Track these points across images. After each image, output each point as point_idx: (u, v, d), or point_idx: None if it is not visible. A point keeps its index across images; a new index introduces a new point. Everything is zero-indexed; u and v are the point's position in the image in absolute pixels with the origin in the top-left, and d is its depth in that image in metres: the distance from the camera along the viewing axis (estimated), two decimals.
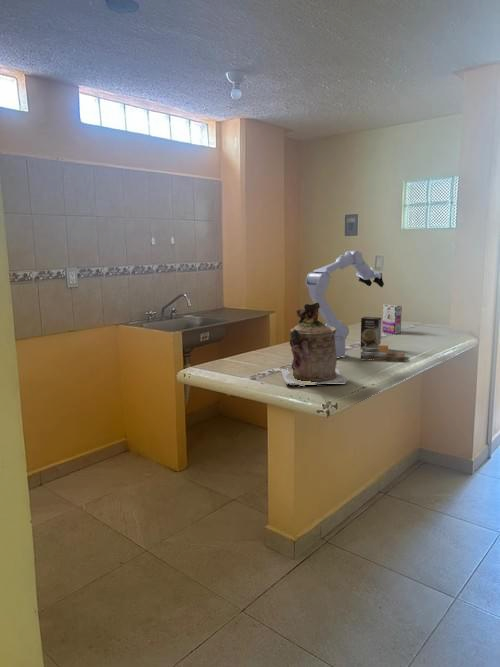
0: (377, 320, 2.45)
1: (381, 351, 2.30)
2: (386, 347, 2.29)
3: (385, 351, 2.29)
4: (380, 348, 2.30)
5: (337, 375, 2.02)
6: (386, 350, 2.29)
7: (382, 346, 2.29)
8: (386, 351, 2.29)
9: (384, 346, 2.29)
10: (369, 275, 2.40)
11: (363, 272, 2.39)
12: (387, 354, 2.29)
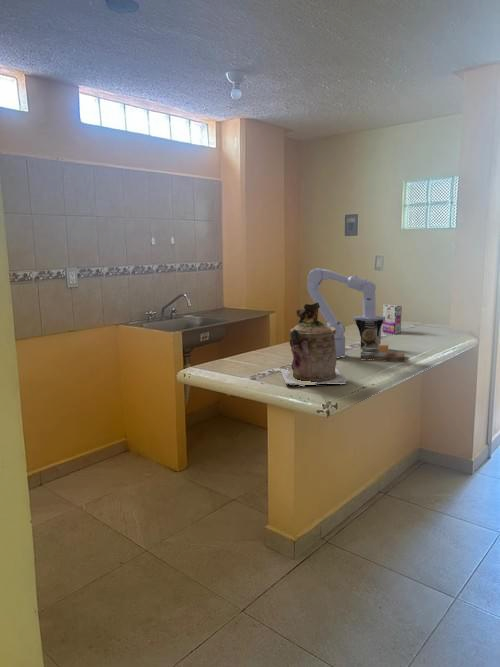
0: None
1: (381, 351, 2.30)
2: (386, 347, 2.29)
3: (385, 351, 2.29)
4: (380, 348, 2.30)
5: (337, 375, 2.02)
6: (386, 350, 2.29)
7: (382, 346, 2.29)
8: (386, 351, 2.29)
9: (384, 346, 2.29)
10: None
11: None
12: (387, 354, 2.29)
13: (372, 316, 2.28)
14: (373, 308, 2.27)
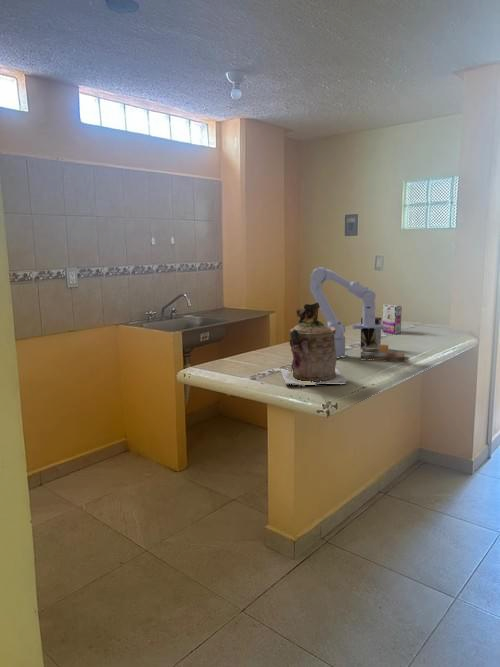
0: (377, 320, 2.45)
1: (381, 351, 2.30)
2: (386, 347, 2.29)
3: (385, 351, 2.29)
4: (380, 348, 2.30)
5: (337, 375, 2.02)
6: (386, 350, 2.29)
7: (382, 346, 2.29)
8: (386, 351, 2.29)
9: (384, 346, 2.29)
10: None
11: None
12: (387, 354, 2.29)
13: (371, 324, 2.29)
14: (372, 316, 2.28)
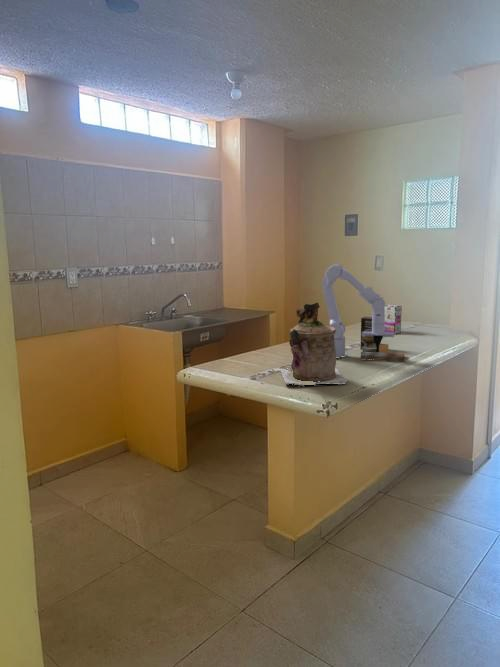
0: None
1: (381, 351, 2.30)
2: (386, 347, 2.29)
3: (385, 351, 2.29)
4: (380, 348, 2.30)
5: (337, 375, 2.02)
6: (386, 350, 2.29)
7: (382, 346, 2.29)
8: (386, 351, 2.29)
9: (384, 346, 2.29)
10: None
11: None
12: (387, 354, 2.29)
13: (381, 332, 2.28)
14: (382, 324, 2.27)
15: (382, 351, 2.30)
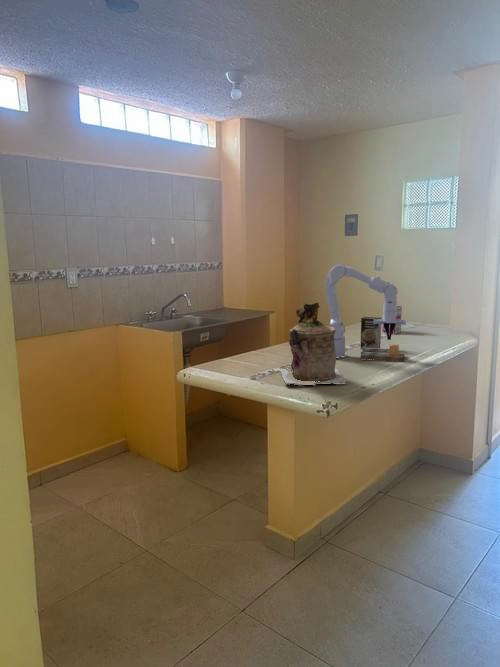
0: None
1: (392, 351, 2.29)
2: (397, 347, 2.27)
3: (396, 351, 2.28)
4: (391, 348, 2.28)
5: (336, 375, 2.02)
6: (397, 350, 2.28)
7: (393, 346, 2.28)
8: (397, 351, 2.28)
9: (395, 346, 2.28)
10: None
11: None
12: None
13: (393, 319, 2.25)
14: (394, 311, 2.25)
15: (392, 352, 2.28)
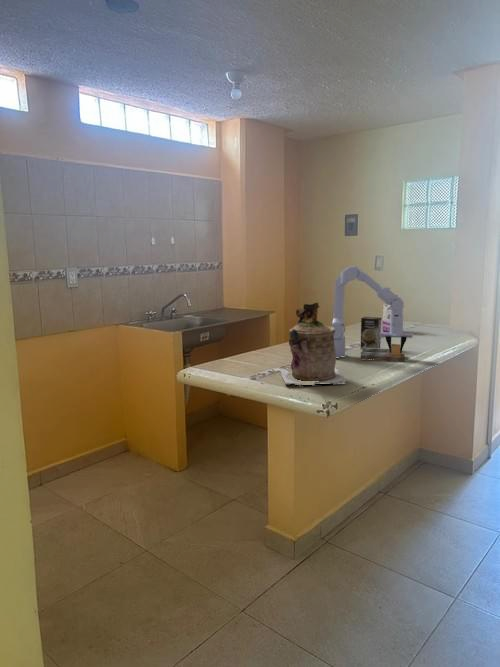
0: (377, 320, 2.45)
1: (393, 351, 2.28)
2: (398, 347, 2.27)
3: (397, 351, 2.28)
4: (392, 348, 2.28)
5: (336, 375, 2.02)
6: (398, 350, 2.28)
7: (394, 346, 2.28)
8: (398, 351, 2.28)
9: (396, 346, 2.28)
10: None
11: None
12: (399, 354, 2.28)
13: (399, 333, 2.26)
14: (400, 325, 2.25)
15: (394, 352, 2.28)
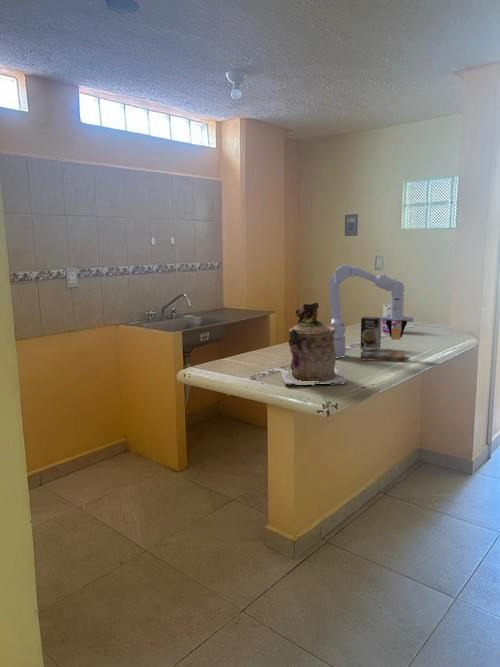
0: (377, 320, 2.45)
1: (394, 336, 2.27)
2: (399, 331, 2.26)
3: (398, 336, 2.26)
4: (393, 333, 2.27)
5: (336, 375, 2.02)
6: (399, 335, 2.26)
7: (395, 331, 2.26)
8: (399, 336, 2.26)
9: (397, 330, 2.26)
10: None
11: None
12: (400, 339, 2.26)
13: (400, 317, 2.24)
14: (401, 308, 2.24)
15: (395, 336, 2.27)
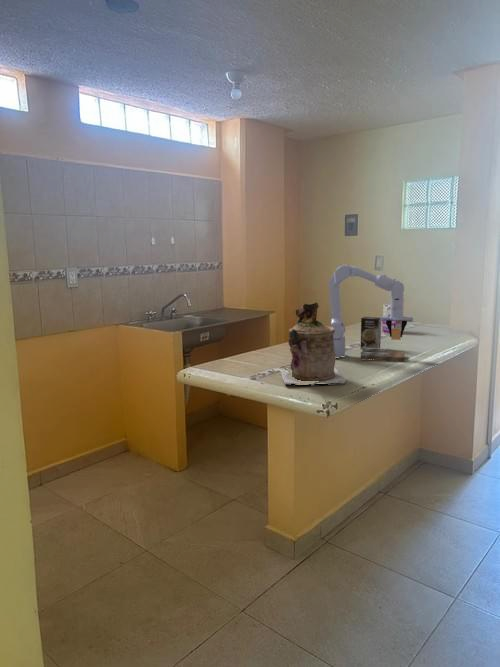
0: (377, 320, 2.45)
1: (394, 336, 2.27)
2: (399, 331, 2.26)
3: (398, 336, 2.26)
4: (393, 333, 2.27)
5: (336, 375, 2.02)
6: (399, 335, 2.26)
7: (395, 331, 2.26)
8: (399, 336, 2.26)
9: (397, 330, 2.26)
10: None
11: None
12: (400, 339, 2.26)
13: (400, 317, 2.24)
14: (401, 308, 2.24)
15: (395, 336, 2.27)
